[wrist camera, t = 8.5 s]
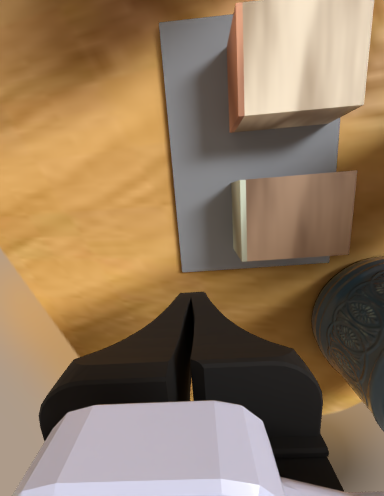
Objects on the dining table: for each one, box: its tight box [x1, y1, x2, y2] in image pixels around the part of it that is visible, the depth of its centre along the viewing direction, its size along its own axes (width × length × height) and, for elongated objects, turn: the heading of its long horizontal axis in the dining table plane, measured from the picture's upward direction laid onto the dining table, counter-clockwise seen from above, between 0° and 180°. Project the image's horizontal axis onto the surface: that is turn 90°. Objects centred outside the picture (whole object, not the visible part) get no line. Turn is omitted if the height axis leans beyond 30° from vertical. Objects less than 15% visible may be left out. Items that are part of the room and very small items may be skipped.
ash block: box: [227, 0, 374, 133], centre depth 15 cm, size 4×6×8 cm
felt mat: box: [159, 14, 340, 272], centre depth 19 cm, size 14×20×1 cm
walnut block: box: [231, 170, 357, 262], centre depth 18 cm, size 4×6×8 cm
